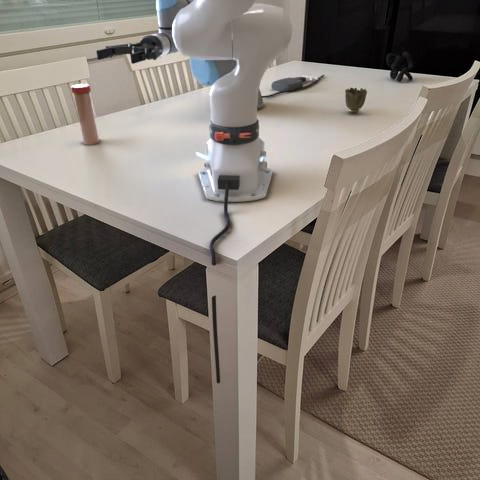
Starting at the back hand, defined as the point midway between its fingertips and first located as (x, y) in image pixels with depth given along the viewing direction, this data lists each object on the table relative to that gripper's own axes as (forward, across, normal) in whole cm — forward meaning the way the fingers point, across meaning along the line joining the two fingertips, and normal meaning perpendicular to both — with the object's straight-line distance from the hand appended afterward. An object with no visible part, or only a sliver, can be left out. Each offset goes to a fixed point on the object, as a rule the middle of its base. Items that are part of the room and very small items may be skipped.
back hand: (114, 57), depth 141 cm
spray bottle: (-74, -34, -21) cm, 85 cm away
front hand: (-5, -39, +27) cm, 48 cm away
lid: (+18, -2, -5) cm, 19 cm away
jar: (+18, -2, -22) cm, 28 cm away
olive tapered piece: (-43, -68, -20) cm, 83 cm away
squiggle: (-102, -74, -21) cm, 127 cm away
